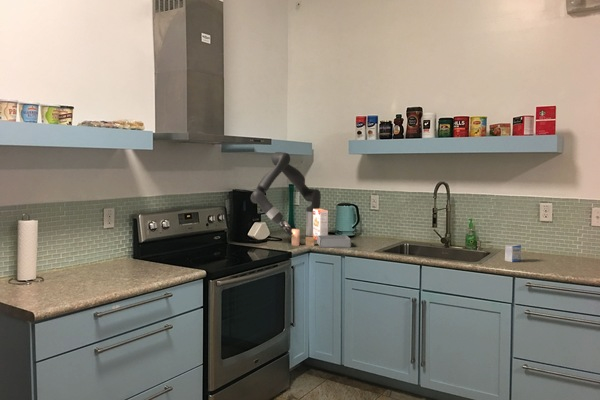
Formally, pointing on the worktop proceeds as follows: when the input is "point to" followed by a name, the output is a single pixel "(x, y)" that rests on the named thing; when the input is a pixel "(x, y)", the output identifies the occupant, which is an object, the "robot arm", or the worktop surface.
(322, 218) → the cracker box
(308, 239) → the walnut block
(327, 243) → the tote
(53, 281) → the worktop surface
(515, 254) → the medicine box
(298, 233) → the spice jar
